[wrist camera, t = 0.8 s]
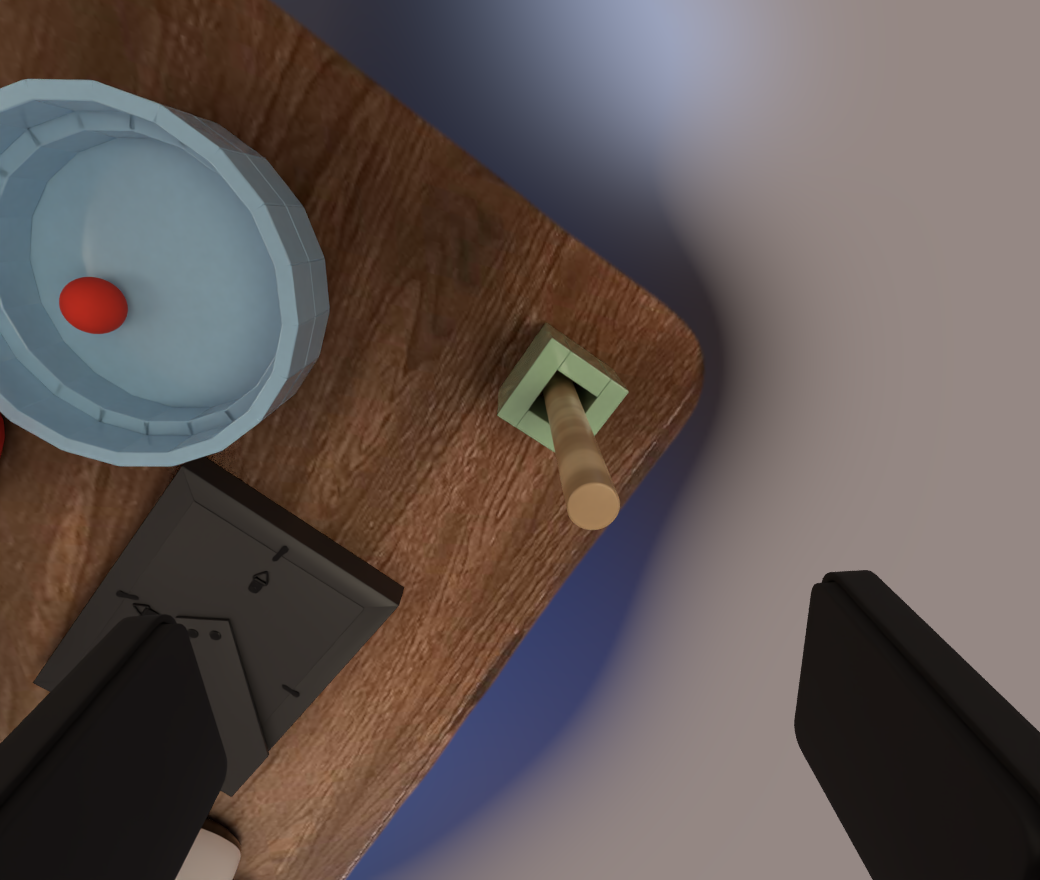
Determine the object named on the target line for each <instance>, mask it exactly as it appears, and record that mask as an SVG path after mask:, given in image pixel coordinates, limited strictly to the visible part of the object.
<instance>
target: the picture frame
mask: <svg viewBox="0 0 1040 880" xmlns="http://www.w3.org/2000/svg"><path fill="white" fill-rule="evenodd" d="M403 590H404V587H402V586H401V585H399V584H398V583H396V582H395V581H393V580H392V579H390V578H389V577H387V576H386V575H384V574H383V573H381V572H380V571H378V570H376V569H375V568H373V567H372V566H370V565H369V564H367V563H366V562H364V561H363V560H361V559H360V558H358V557H357V556H355V555H354V554H352V553H351V552H349V551H347V550H346V549H344V548H343V547H341V546H340V545H338V544H337V543H335V542H334V541H332V540H331V539H329V538H328V537H326V536H325V535H323V534H322V533H320V532H318V531H317V530H315V529H314V528H312V527H311V526H309V525H308V524H306V523H305V522H303V521H302V520H300V519H299V518H297V517H296V516H294V515H293V514H291V513H289V512H288V511H286V510H285V509H283V508H282V507H280V506H279V505H277V504H276V503H274V502H273V501H271V500H270V499H268V498H267V497H265V496H264V495H262V494H260V493H259V492H257V491H256V490H254V489H253V488H251V487H250V486H248V485H247V484H245V483H244V482H242V481H241V480H239V479H238V478H236V477H235V476H233V475H231V474H230V473H228V472H227V471H225V470H224V469H222V468H221V467H219V466H218V465H216V464H215V463H213V462H212V461H210V460H209V459H207V458H206V457H201V458H198V459H195V460H192V461H189V462H186V463H185V464H184V465H182V467H181V468H180V470H179V471H178V472H177V474H176V475H175V477H174V478H173V480H172V481H171V483H170V484H169V486H168V487H167V488H166V490H165V491H164V493H163V494H162V496H161V497H160V499H159V500H158V502H157V503H156V504H155V506H154V507H153V509H152V510H151V512H150V513H149V515H148V516H147V518H146V519H145V520H144V522H143V523H142V525H141V526H140V528H139V529H138V531H137V532H136V534H135V535H134V536H133V538H132V539H131V541H130V542H129V544H128V545H127V547H126V548H125V550H124V551H123V552H122V554H121V555H120V557H119V558H118V560H117V561H116V563H115V564H114V566H113V567H112V568H111V570H110V571H109V573H108V574H107V576H106V577H105V579H104V580H103V581H102V583H101V584H100V586H99V587H98V589H97V590H96V592H95V593H94V595H93V596H92V597H91V599H90V600H89V602H88V603H87V605H86V606H85V608H84V609H83V611H82V612H81V613H80V615H79V616H78V618H77V619H76V621H75V622H74V624H73V625H72V627H71V628H70V629H69V631H68V632H67V634H66V635H65V637H64V638H63V640H62V641H61V643H60V644H59V645H58V647H57V648H56V650H55V651H54V653H53V654H52V656H51V657H50V659H49V660H48V661H47V663H46V664H45V666H44V667H43V669H42V670H41V672H40V673H39V675H38V676H37V677H36V679H35V680H34V682H33V683H34V684H36V685H38V686H40V687H42V688H44V689H46V690H48V691H50V692H51V691H52V690H53V689H54V688H55V687H56V686H57V685H58V684H59V683H60V682H61V681H62V680H63V679H64V678H65V677H66V676H67V675H68V674H69V673H70V672H71V671H72V669H73V668H74V667H75V666H76V665H77V664H78V663H79V662H80V661H81V660H82V659H83V658H84V657H85V656H86V655H87V654H88V653H89V652H90V651H91V650H92V649H93V648H94V647H95V646H96V645H97V644H98V643H99V642H100V641H101V640H102V639H103V638H104V637H105V636H106V634H107V633H108V632H109V631H110V630H111V629H112V628H113V627H114V626H115V625H116V624H117V623H118V622H119V621H121V620H122V619H123V618H126V617H130V616H145V615H160V614H167V615H171V616H172V617H173V618H174V619H175V621H176V623H179V624H183V625H184V626H185V627H186V629H187V631H188V634H189V638H190V641H191V644H192V647H193V650H194V654H195V657H196V660H197V663H198V666H199V670H200V673H201V676H202V679H203V682H204V686H205V689H206V692H207V695H208V698H209V702H210V705H211V708H212V711H213V715H214V718H215V721H216V724H217V727H218V731H219V734H220V737H221V740H222V743H223V747H224V750H225V753H226V757H227V773H226V777H225V781H224V783H223V786H222V788H221V790H220V791H222V792H224V793H226V794H227V795H229V796H231V797H232V796H233V795H234V794H235V793H236V791H237V790H238V789H239V788H240V787H241V786H242V785H243V784H244V783H245V781H246V780H247V779H248V778H249V777H250V776H251V775H252V774H253V773H254V771H255V770H256V769H257V768H258V767H259V766H260V765H261V764H262V763H263V761H264V760H265V759H266V758H267V757H268V755H269V752H268V751H269V750H270V749H271V748H272V747H273V746H274V745H275V744H276V742H277V741H278V740H279V739H280V738H281V737H282V736H283V735H284V733H285V732H286V731H287V730H288V729H289V728H290V727H291V726H292V725H293V723H294V722H295V721H296V720H297V719H298V718H299V717H300V716H301V714H302V713H303V712H304V711H305V710H306V709H307V708H308V707H309V706H310V704H311V703H312V702H313V701H314V700H315V699H316V698H317V697H318V695H319V694H320V693H321V692H322V691H323V690H324V689H325V688H326V687H327V685H328V684H329V683H330V682H331V681H332V680H333V679H334V678H335V677H336V675H337V674H338V673H339V672H340V671H341V670H342V669H343V668H344V666H345V665H346V664H347V663H348V662H349V661H350V660H351V659H352V658H353V656H354V655H355V654H356V653H357V652H358V651H359V650H360V649H361V647H362V646H363V645H364V644H365V643H366V642H367V641H368V640H369V639H370V637H371V636H372V635H373V634H374V633H375V632H376V631H377V630H378V628H379V627H380V626H381V625H382V624H383V623H384V622H385V621H386V620H387V618H388V617H389V616H390V615H391V614H392V613H393V612H394V611H395V609H396V608H397V607H398V606H399V604H400V600H401V597H402V593H403Z"/></svg>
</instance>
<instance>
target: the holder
mask: <svg viewBox="0 0 1040 880" xmlns="http://www.w3.org/2000/svg"><path fill="white" fill-rule="evenodd" d="M557 369H558V371H559V372H561V373H562V374H564V375H565V376H567V377H568V378H570V379H571V380H573V381H574V382H576V383H577V384H578V386H577V387H576V388H575V389H576V392H577V394H578V397H579V399H580V402H581V404H582V407H583V409H584V412H585V414H586V417H587V419H588V422H589V424H590V427H591V429H592V432H593V434H594V436H595V435H596V433H597V432H598V431H599V430H600V428H601V427H602V426H603V424H604V423H605V422H606V421H607V419H608V418H609V417H610V415H611V414H612V413H613V412H614V410H615V409H616V408H617V406H618V405H619V404H620V403H621V401H622V400H623V399H624V397H625V396H626V395H627V394H628V392H629V391H628V390H627V389H626V387H625V386H624V384H623V383H622V381H621V380H620V379H619V377H618V376H617V374H616V373H615V372H614V370H613V369H612V368H611V367H609V366H608V365H606V364H605V363H603V362H602V361H601V360H599V359H597V358H596V357H595V356H593V355H592V354H591V353H589V352H588V351H586V350H585V349H584V348H582V347H581V346H579V345H578V344H576V343H575V342H574V341H572V340H571V339H569V338H568V337H566V336H565V335H564V334H562V333H561V332H559V331H558V330H556V329H555V328H554V327H552V326H551V325H549V324H548V323H545V324H544V326H543V327H542V329H541V330H540V332H539V333H538V334H537V336H536V337H535V339H534V340H533V342H532V343H531V344H530V346H529V347H528V349H527V350H526V352H525V353H524V354H523V356H522V357H521V359H520V360H519V362H518V363H517V364H516V366H515V367H514V369H513V370H512V372H511V373H510V374H509V376H508V377H507V379H506V380H505V382H504V383H503V384H502V386H501V387H500V389H499V393H498V411H497V416H499V417H500V418H502V419H503V420H505V421H506V422H508V423H509V424H511V425H513V426H514V427H516V428H518V429H519V430H521V431H522V432H524V433H525V434H527V435H528V436H530V437H531V438H533V439H535V440H536V441H538V442H539V443H541V444H542V445H544V446H545V447H547V448H548V449H550V450H552V451H553V452H555V449H554V444H553V439H552V434H551V430H550V425H549V420H548V415H547V410H546V405H545V400H544V398H543V397H542V396H540V395H539V394H540V393H541V391H542V390H543V389H544V387H545V386H546V385H547V383H548V382H549V380H550V379H551V378H552V376H553V375H554V374H555V372H556V371H557Z"/></svg>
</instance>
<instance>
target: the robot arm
mask: <svg viewBox="0 0 1040 880" xmlns="http://www.w3.org/2000/svg"><path fill="white" fill-rule="evenodd" d="M794 726H795V734H796V738H797V741H798V744H799V747H800V749H801V751H802V753H803V755H804V756H805V758H806V760H807V762H808V763H809V765H810V767H811V769H812V771H813V772H814V774H815V776H816V778H817V780H818V782H819V783H820V785H821V787H822V789H823V791H824V792H825V794H826V796H827V798H828V800H829V802H830V803H831V805H832V807H833V809H834V810H835V812H836V814H837V816H838V818H839V820H840V821H841V823H842V825H843V827H844V828H845V830H846V832H847V834H848V836H849V838H850V839H851V841H852V843H853V845H854V847H855V849H856V850H857V852H858V854H859V856H860V858H861V859H862V861H863V863H864V865H865V867H866V868H867V870H868V872H869V874H870V876H871V878H872V879H873V880H1040V732H1039V731H1038V730H1037V729H1036V728H1035V727H1034V726H1033V725H1031V724H1030V722H1028V721H1027V720H1026V719H1025V718H1024V717H1023V716H1022V715H1021V714H1020V713H1019V712H1018V711H1017V710H1016V709H1015V708H1014V707H1013V706H1012V705H1011V704H1010V703H1009V702H1008V701H1007V700H1006V699H1005V698H1004V697H1003V696H1001V695H1000V694H999V693H998V692H997V691H996V690H995V689H994V688H993V687H992V686H991V685H990V684H989V683H988V682H987V681H986V680H985V679H984V678H983V677H982V676H981V675H980V674H978V673H977V671H976V670H974V669H973V668H972V667H971V666H970V665H969V664H968V663H967V662H966V661H965V660H964V659H963V658H962V657H961V656H960V655H959V654H958V653H957V652H956V651H955V650H954V649H953V648H951V646H949V645H948V644H947V643H946V642H945V641H944V640H943V639H942V638H941V637H940V636H939V635H938V634H937V633H936V632H935V631H934V630H933V629H932V628H931V627H930V626H929V625H928V624H927V623H926V622H925V621H924V620H923V619H921V618H920V617H919V616H918V615H917V614H916V613H915V612H914V611H913V610H912V609H911V608H910V607H909V606H908V605H907V604H906V603H905V602H904V601H903V600H902V599H901V598H900V597H899V596H898V595H897V594H895V593H894V592H893V591H892V590H891V589H890V588H889V587H888V586H887V585H886V584H885V583H884V582H883V581H882V580H881V579H880V578H879V577H878V576H877V575H875V574H874V573H873V572H871V571H868V570H861V571H844V572H830V573H827V574H826V575H825V576H824V578H823V580H822V583H817V584H815V585H814V586H813V588H812V592H811V598H810V605H809V613H808V621H807V628H806V636H805V644H804V652H803V659H802V667H801V674H800V682H799V690H798V698H797V706H796V713H795V720H794ZM226 773H227V757H226V753H225V750H224V747H223V743H222V740H221V737H220V734H219V731H218V727H217V724H216V721H215V718H214V715H213V711H212V708H211V705H210V702H209V698H208V695H207V692H206V689H205V686H204V682H203V679H202V676H201V673H200V670H199V666H198V663H197V660H196V657H195V654H194V650H193V647H192V644H191V641H190V638H189V634H188V631H187V629H186V627H185V626H184V625H183V624H179V623H176V621H175V619H174V618H173V617H172V616H171V615H167V614H160V615H145V616H130V617H126V618H123V619H122V620H121V621H119V622H118V623H117V624H116V625H115V626H114V627H113V628H112V629H111V630H110V631H109V632H108V633H107V634H106V636H105V637H104V638H103V639H102V640H101V641H100V642H99V643H98V644H97V645H96V646H95V647H94V648H93V649H92V650H91V651H90V652H89V653H88V654H87V655H86V656H85V657H84V658H83V659H82V660H81V661H80V662H79V663H78V664H77V665H76V666H75V667H74V668H73V669H72V671H71V672H70V673H69V674H68V675H67V676H66V677H65V678H64V679H63V680H62V681H61V682H60V683H59V684H58V685H57V686H56V687H55V688H54V689H53V690H52V691H51V692H50V693H49V694H48V695H47V696H46V697H45V698H44V699H43V700H42V701H41V702H40V703H39V704H38V706H37V707H36V708H35V709H34V710H33V711H32V712H31V713H30V714H29V715H28V716H27V717H26V718H25V719H24V720H23V721H22V722H21V723H20V724H19V725H18V726H17V727H16V728H15V729H14V730H13V731H12V732H11V733H10V734H9V735H8V736H7V737H6V738H5V740H4V741H3V742H2V743H1V744H0V880H175V879H176V877H177V875H178V873H179V871H180V869H181V867H182V865H183V863H184V861H185V859H186V857H187V855H188V853H189V851H190V849H191V847H192V845H193V843H194V841H195V839H196V837H197V835H198V833H199V831H200V829H201V827H202V825H203V823H204V822H205V820H206V818H207V816H208V814H209V812H210V810H211V808H212V806H213V804H214V802H215V800H216V798H217V796H218V794H219V792H220V790H221V788H222V786H223V783H224V781H225V777H226Z"/></svg>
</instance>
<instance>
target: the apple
mask: <svg viewBox="0 0 1040 880" xmlns="http://www.w3.org/2000/svg"><path fill="white" fill-rule="evenodd" d="M4 439H5V431H4V421H3V418H2V416H1V414H0V458H1V453H2V448H3V444H4Z"/></svg>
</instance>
